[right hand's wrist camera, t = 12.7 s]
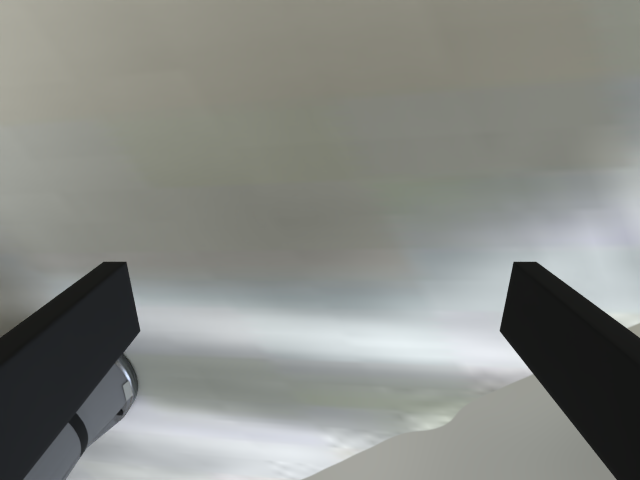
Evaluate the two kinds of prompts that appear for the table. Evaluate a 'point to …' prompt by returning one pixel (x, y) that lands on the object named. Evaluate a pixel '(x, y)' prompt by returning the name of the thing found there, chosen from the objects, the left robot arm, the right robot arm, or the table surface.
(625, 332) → the right robot arm
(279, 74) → the table surface
